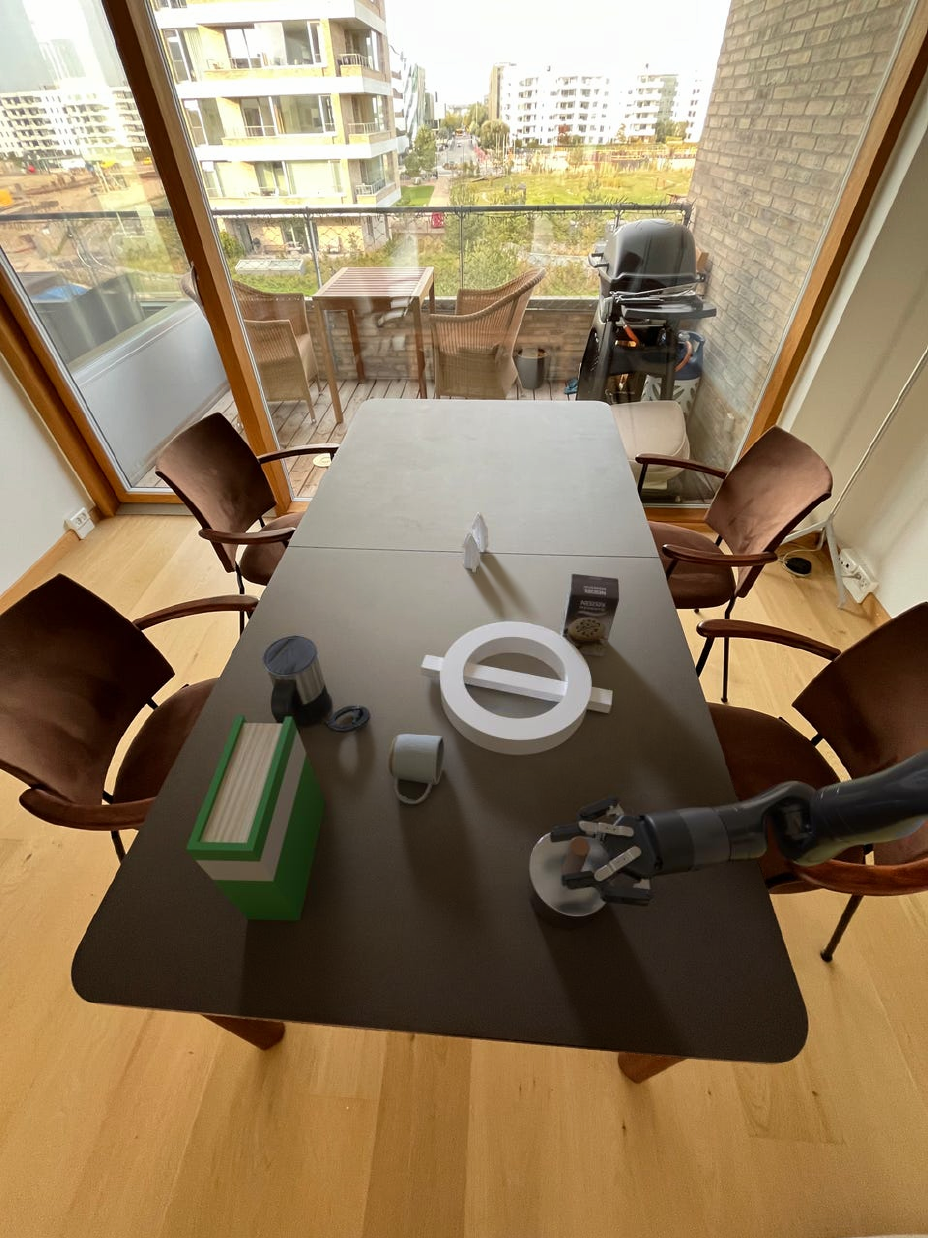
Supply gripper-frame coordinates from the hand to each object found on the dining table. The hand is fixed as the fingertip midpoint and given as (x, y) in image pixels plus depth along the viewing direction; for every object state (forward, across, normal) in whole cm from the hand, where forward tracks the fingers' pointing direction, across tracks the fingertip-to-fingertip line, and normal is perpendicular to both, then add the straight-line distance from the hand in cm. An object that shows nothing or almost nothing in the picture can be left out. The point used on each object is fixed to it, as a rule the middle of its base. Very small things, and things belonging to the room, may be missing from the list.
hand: (557, 858), depth 71 cm
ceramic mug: (+17, -21, +13) cm, 30 cm away
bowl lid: (-3, 0, +6) cm, 6 cm away
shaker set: (-2, -78, +13) cm, 80 cm away
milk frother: (+33, -36, +13) cm, 51 cm away
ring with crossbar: (-3, -37, +13) cm, 39 cm away
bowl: (-3, 0, +13) cm, 13 cm away
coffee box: (-19, -47, +13) cm, 52 cm away
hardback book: (+37, -11, +13) cm, 41 cm away
